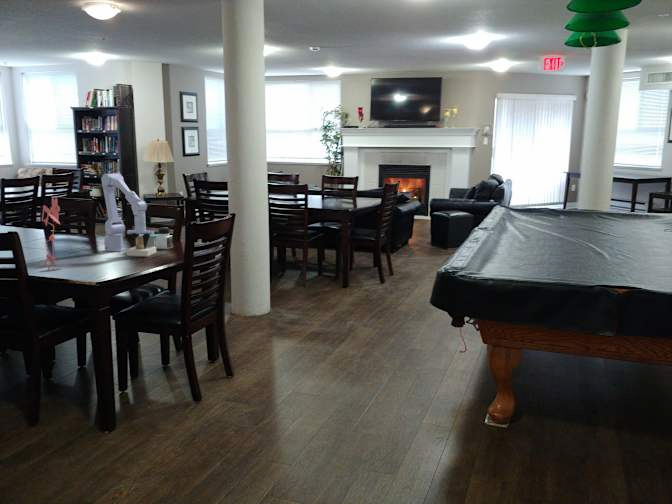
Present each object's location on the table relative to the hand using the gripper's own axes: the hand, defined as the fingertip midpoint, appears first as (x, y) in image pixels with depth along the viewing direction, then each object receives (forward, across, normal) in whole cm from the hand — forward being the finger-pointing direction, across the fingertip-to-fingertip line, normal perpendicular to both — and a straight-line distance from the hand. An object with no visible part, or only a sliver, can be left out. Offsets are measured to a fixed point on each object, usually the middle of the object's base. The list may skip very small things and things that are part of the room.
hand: (141, 247), depth 325 cm
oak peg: (+2, 0, 0) cm, 2 cm away
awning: (+4, 0, +10) cm, 11 cm away
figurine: (+4, -27, -35) cm, 45 cm away
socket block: (+4, 0, 0) cm, 4 cm away
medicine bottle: (+4, +5, +21) cm, 22 cm away
